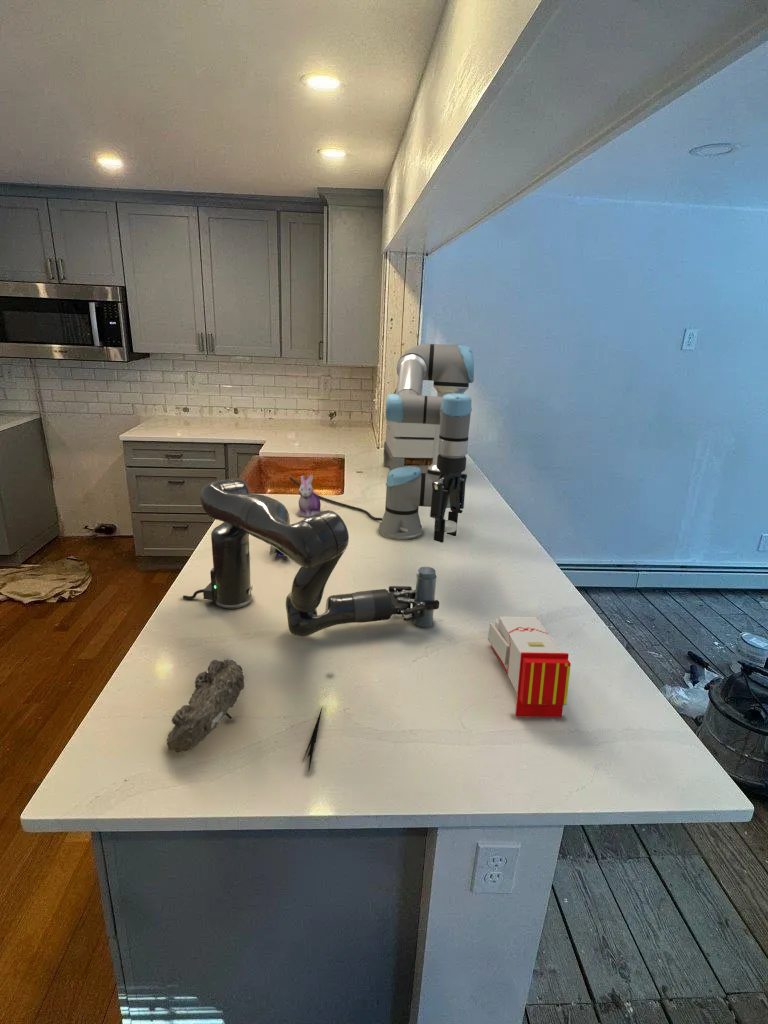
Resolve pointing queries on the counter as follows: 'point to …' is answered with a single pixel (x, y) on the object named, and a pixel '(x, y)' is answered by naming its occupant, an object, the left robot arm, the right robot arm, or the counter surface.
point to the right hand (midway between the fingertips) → (445, 537)
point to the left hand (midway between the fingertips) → (434, 599)
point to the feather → (313, 740)
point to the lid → (450, 526)
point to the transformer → (408, 444)
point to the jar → (425, 593)
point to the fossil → (206, 705)
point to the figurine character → (274, 550)
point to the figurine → (308, 498)
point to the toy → (531, 665)
